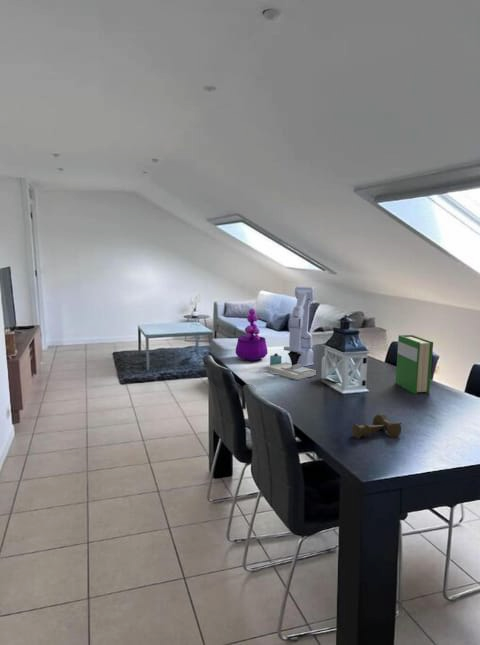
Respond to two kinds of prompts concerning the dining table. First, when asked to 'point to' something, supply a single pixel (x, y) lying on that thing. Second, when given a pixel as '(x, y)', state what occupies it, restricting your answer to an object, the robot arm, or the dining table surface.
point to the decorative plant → (251, 341)
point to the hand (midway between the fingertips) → (294, 366)
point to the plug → (275, 359)
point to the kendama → (377, 427)
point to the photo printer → (323, 368)
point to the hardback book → (414, 363)
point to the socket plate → (289, 371)
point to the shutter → (298, 368)
